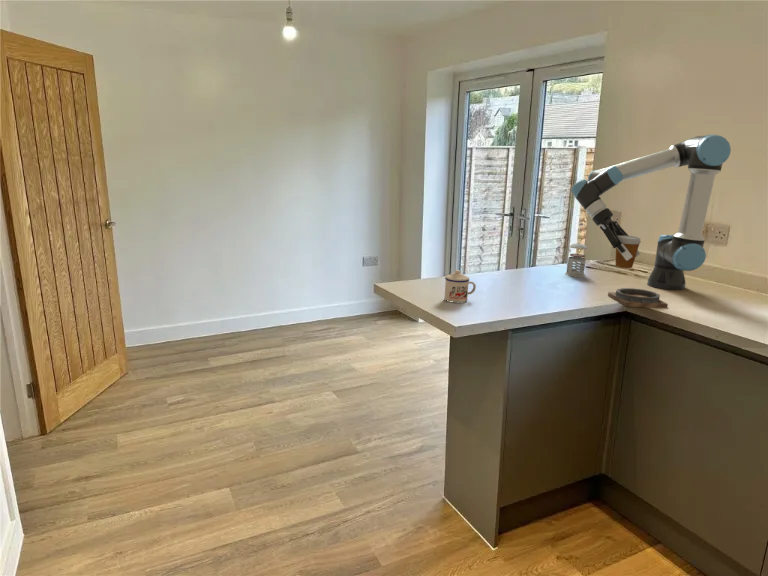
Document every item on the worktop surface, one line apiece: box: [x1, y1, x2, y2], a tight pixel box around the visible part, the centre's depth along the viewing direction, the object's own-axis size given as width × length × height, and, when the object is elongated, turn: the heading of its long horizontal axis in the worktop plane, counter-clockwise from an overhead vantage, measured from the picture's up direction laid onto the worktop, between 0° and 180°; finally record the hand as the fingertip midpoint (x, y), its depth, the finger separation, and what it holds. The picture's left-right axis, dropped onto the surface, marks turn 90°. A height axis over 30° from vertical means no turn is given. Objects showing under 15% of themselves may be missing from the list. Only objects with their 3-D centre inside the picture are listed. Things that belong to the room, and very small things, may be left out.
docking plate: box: [607, 287, 669, 309], centre depth 211 cm, size 16×16×4 cm
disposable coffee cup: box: [615, 235, 642, 269], centre depth 215 cm, size 10×10×12 cm
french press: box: [562, 222, 588, 278], centre depth 255 cm, size 10×12×25 cm
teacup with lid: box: [444, 269, 477, 303], centre depth 203 cm, size 12×9×12 cm
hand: (633, 257), depth 214 cm, fingers closed on disposable coffee cup, 9 cm apart
